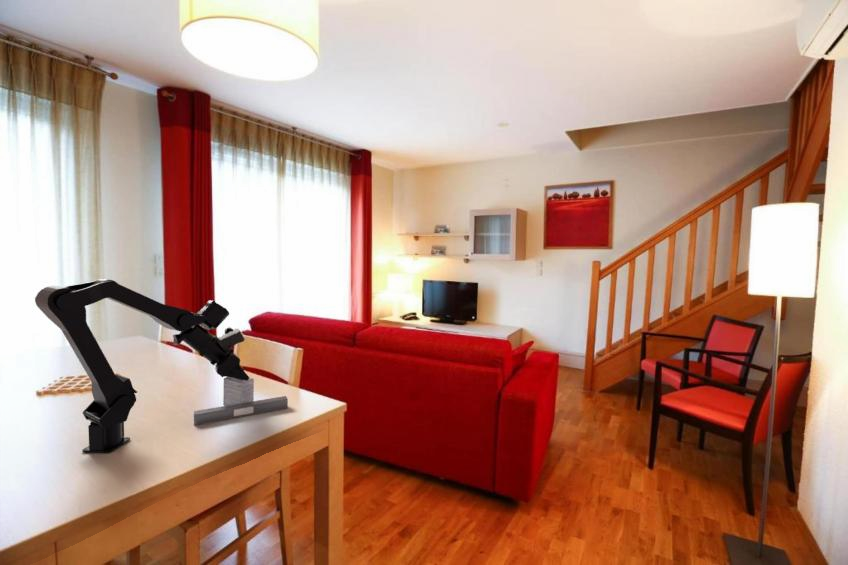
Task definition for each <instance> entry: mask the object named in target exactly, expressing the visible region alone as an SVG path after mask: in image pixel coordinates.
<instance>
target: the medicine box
mask: <svg viewBox="0 0 848 565" xmlns="http://www.w3.org/2000/svg"><path fill="white" fill-rule="evenodd" d="M254 381H255V380H254V378H252V377H249V379H248V380H247V381H245V380H241V379H236V378H231V377H226V376H225V377H223V394H222V395H223V396H222V398H223V399H222V400H223V406H228V405H234V404H240V403H246V402H252V401H255V400H254V399H255V398H254V396H255V394H254V392H255V388H254V386H255V382H254Z"/></svg>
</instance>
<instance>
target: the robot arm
mask: <svg viewBox="0 0 848 565" xmlns="http://www.w3.org/2000/svg"><path fill="white" fill-rule="evenodd" d="M104 299H108V300H111V301H112V302H115V303H118V304H119V305H122V306H125V307H127V308H130V309H132V310H134V311H137V312H140V313H141V314H143V315H147V316H149V317H150V318H151V319H152V320H153V321H155V322H156V323H157V324H159V325H161V326H162V327H163V328H165V329H169V330H173V331H176V332H179V333H176V334H173V335H172V338H173V342H172V343H173V345H174V346H176V345H180V344H182V342H184V343H185V344H187V345H188V346H189V347H190V348H192V349H193V350H194V351H195V352H197V353H198V355H199V356H200V357H203V358H205V359H206V360H207V361H209V362H210V364H211V365H212V366H215V368H214V370H215V372H216V374H217V375H219V376H220V377H221V378H226V377H231V378H236V379H241V380H245V381H247V380H248V379H249V378H250V376H249V375H248V374H247V372H246V371H245V370H244V368H243V367H242V366H241V359H240V357H239V356H238V355H237V354H235V353H234V349H233V348H232V347H233V346H236V345H237V344H240V343H242V342H243V343H244V342H245V340H246V339H245V337H244V335H243V333H242V331H241V329H239V328H234V329H233V328H232V327H230V326H228V327H227V328H225V329H224V334H222V335H221V336H220V337H218V336H217V335H213V334H212V333H210V332H209V331H210V330H217V329H218V328H219V326H220V325H221V324H222V323H223V322H224V321H225V320H226V318H227V317H229V315H230V312H229V311H228V309H227V308H226V307H224V306H222V305H221V304H219V303H217V302H216V301H215V300H211V299H210V300H208V301H207V302H206V303H205V305H204V306H203V307H201V309H200V310H199V311H197V313H196V312H192V311H190V310H188V309H185V308H180V307H177V306H172V305H168V304H164V303H161V302H159V301H156V300H155V299H153V298H151V297H147V296H146V295H144V294H142V293H140V292H138V291H135V290H134V289H133V290H132V289H131V288H128V287H127V286H124V285H122V284H120V283H118V282H117V281H115V280H113V279H108V278H106V279H105V278H99V279H96V280H93V281H88V282H84V283H76V284H71V285H67V286H60V285H50V286H45V287H44V288H42V289H41V290H39V291H38V292H37V294H36V296H35V297H34V303H35V305H36V307H37V308H38V309H39V310H40V311H41V312H42V313H43V314H44V316H45V317H47V318H48V319H49V320H50V321H51V322H52V323H53V324H54V325H55V326H57V327H58V328H59V330H61V332H62V333H63V335H64V337H65V338H66V340H67V342H68V344H69V345H70V347H71V349H72V351H73V352H74V354H75V356H76V358H77V359H78V361H79V363H80V365H81V366H82V368H83V370H84V371H85V373H86V375H87V376H88V378H89V379H90V383H91V394H92V397H93V400H92V401H91V403H89V405H88V406H87V407H85V409H84V410H83V411H82V415H83V417H84V418H85V420H86V421H89V422H90V423H89V425H88V427H87V428H88V429H87V430H88V445H87V446H86V447H84V448H83V449H82V451H81V452H82V453H101V454H102V453H103V454H104V453H105V454H106V453H112V452H114V451H115V450H117V449H118V448H120V447H121V446H123V445H125V443H128V442H129V441H131V437H130V436H129V437H128V436H127V437H126V436H125V422H127V420H128V417H129V415H130V412H131V410H132V408H133V407H134V406H135V403H136V402H137V396H136V394H137V393H138V391H137V390H136V389H135V387H134V386H133V383H132V381H131V379H130V378H129V377H126V376H123V375H121V374H118V373H117V374H115V372H114V370H113V369H112V366H111V364H110V363H109V361H108V359H107V357H106V354H104V352H103V350H102V349H101V347H100V344H99V343H98V341H97V339H96V337H95V336H94V334H93V332H92V330H91V329H90V327H89V325H88V323H87V310H86V306H90V305H93V304H95V303H97V302H100V301H102V300H104ZM207 330H208V331H207Z"/></svg>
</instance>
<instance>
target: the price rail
mask: <svg viewBox="0 0 848 565" xmlns="http://www.w3.org/2000/svg"><path fill="white" fill-rule="evenodd" d="M288 402H289V401H288V397H287V396H286V395H282V396H279V397H271V398H270V397H269V398H265V399H260V400H258V399H257V400H254V401H252V402H246V403H240V404H234V405H228V406H224V405H223V406H217V407H211V408H205V409H200V410H199V409H198V410H194V411H193V425H194V426H199V425H200V426H201V425H204V424H210V423H216V422H217V423H218V422H222V421H228V420H231V419H232V420H233V419H239V418H242V417H244V418H245V417H249V416H250V417H251V416H255V415H260V414H266V413H272V412H276V410H277V411H282V410H287V409H286V408H288V407H289V404H288ZM281 409H282V410H281Z"/></svg>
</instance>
